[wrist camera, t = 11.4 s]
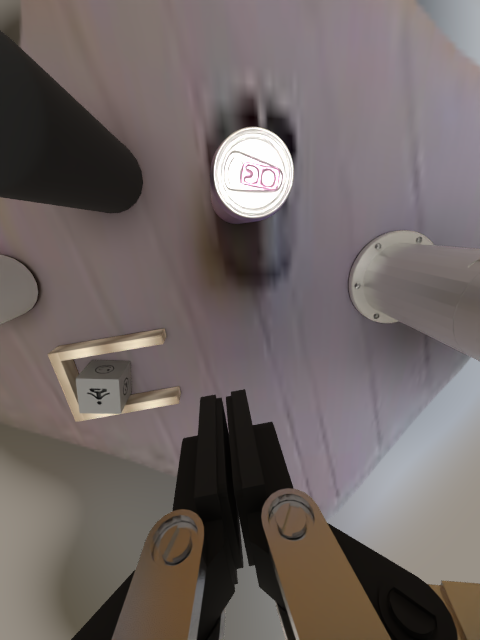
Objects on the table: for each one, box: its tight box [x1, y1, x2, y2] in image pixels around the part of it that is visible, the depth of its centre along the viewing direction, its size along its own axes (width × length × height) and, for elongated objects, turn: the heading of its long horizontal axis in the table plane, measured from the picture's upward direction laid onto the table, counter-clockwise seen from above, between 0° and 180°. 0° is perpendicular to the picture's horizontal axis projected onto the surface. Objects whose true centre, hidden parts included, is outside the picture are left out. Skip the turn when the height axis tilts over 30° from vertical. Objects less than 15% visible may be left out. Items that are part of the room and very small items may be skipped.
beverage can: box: [210, 127, 294, 224], centre depth 26 cm, size 6×6×15 cm
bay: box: [48, 328, 181, 422], centre depth 37 cm, size 14×10×2 cm
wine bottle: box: [0, 31, 143, 213], centre depth 17 cm, size 8×8×30 cm
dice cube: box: [76, 360, 132, 414], centre depth 36 cm, size 5×5×5 cm
